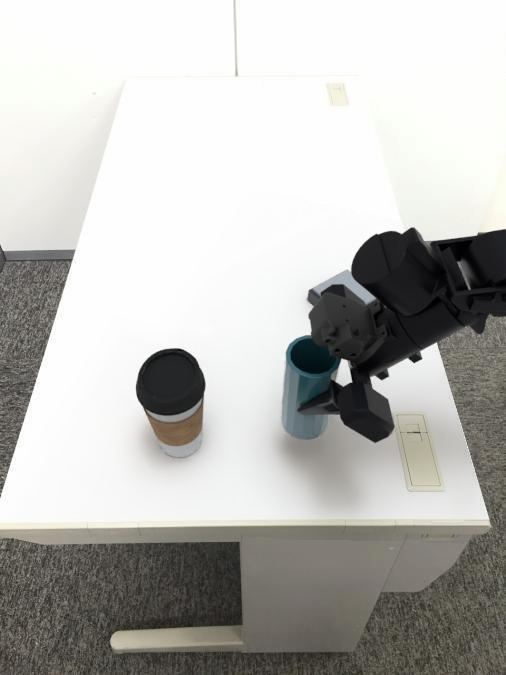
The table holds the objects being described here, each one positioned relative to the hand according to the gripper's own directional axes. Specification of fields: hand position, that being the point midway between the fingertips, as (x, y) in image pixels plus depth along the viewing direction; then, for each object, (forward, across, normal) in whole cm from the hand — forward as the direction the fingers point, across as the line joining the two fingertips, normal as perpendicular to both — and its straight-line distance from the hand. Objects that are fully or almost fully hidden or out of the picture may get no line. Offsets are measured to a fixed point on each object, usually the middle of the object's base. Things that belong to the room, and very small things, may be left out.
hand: (297, 389), depth 63 cm
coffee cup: (+20, -2, -1) cm, 20 cm away
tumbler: (+4, 0, +6) cm, 7 cm away
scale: (+2, -27, +17) cm, 32 cm away
